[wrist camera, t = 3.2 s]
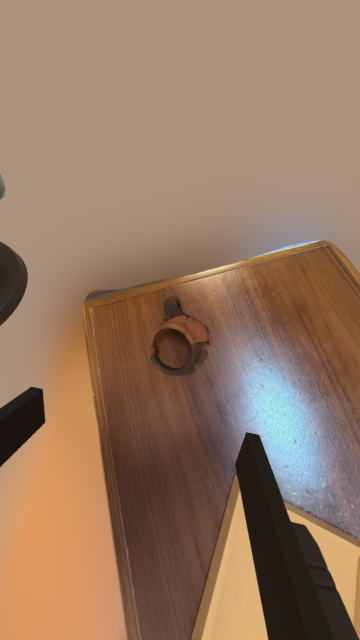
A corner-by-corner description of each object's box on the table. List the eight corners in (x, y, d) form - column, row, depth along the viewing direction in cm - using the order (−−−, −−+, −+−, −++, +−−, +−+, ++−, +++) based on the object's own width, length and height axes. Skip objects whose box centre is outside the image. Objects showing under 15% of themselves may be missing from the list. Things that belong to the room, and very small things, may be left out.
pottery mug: (223, 356, 29) (214, 372, 22) (174, 369, 33) (152, 388, 25) (198, 289, 30) (181, 283, 23) (153, 309, 34) (125, 310, 26)
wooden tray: (190, 640, 19) (191, 677, 16) (234, 474, 24) (240, 484, 21) (344, 747, 16) (371, 808, 14) (358, 539, 21) (380, 558, 19)
